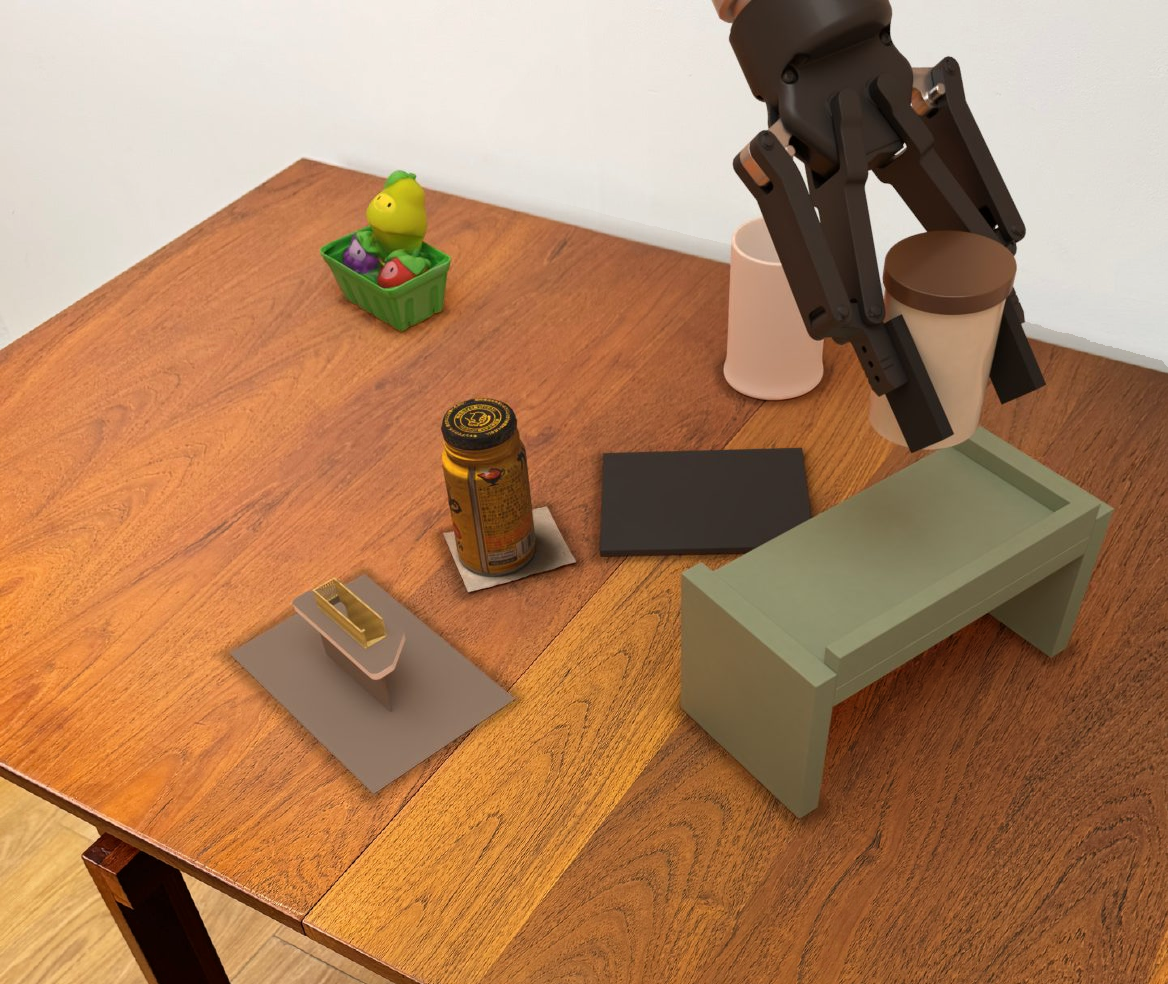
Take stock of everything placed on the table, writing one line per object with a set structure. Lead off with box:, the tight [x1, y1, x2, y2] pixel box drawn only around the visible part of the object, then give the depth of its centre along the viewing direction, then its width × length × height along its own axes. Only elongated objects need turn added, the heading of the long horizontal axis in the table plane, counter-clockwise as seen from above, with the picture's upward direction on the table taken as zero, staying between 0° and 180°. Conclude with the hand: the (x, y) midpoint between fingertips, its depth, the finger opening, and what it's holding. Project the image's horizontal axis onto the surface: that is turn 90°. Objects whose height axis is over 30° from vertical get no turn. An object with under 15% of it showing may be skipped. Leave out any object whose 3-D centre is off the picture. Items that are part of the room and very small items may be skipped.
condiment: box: [440, 397, 577, 593], centre depth 91 cm, size 7×8×12 cm
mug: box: [723, 216, 825, 401], centre depth 104 cm, size 12×8×12 cm
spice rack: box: [679, 425, 1115, 820], centre depth 80 cm, size 24×12×13 cm, turn 125°
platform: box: [228, 573, 516, 795], centre depth 86 cm, size 12×18×7 cm, turn 42°
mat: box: [599, 447, 812, 557], centre depth 98 cm, size 16×12×1 cm
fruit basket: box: [318, 169, 452, 333], centre depth 115 cm, size 11×9×11 cm
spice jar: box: [867, 231, 1018, 451], centre depth 66 cm, size 6×6×9 cm
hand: (978, 418), depth 66 cm, fingers closed on spice jar, 6 cm apart
